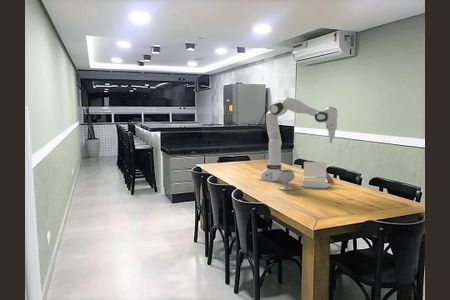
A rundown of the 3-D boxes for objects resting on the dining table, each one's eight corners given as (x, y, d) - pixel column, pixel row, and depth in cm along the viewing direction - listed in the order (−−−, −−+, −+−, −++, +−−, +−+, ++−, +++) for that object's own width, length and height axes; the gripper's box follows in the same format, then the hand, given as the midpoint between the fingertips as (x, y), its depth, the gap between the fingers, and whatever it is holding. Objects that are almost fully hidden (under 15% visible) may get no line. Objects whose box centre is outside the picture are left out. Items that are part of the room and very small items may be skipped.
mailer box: (302, 187, 276) (302, 180, 275) (302, 183, 289) (302, 177, 289) (327, 188, 271) (327, 181, 271) (326, 185, 285) (326, 178, 284)
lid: (304, 161, 292) (304, 162, 293) (303, 176, 288) (303, 176, 289) (326, 162, 288) (326, 162, 289) (326, 177, 284) (326, 177, 284)
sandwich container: (334, 181, 302) (335, 165, 301) (321, 182, 296) (321, 166, 295) (328, 179, 310) (328, 163, 309) (315, 180, 304) (315, 164, 302)
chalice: (297, 189, 267) (298, 171, 265) (284, 191, 260) (284, 173, 258) (286, 186, 279) (287, 169, 277) (273, 188, 272) (273, 170, 271)
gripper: (326, 126, 285) (326, 141, 287) (328, 126, 266) (327, 143, 267) (334, 126, 284) (333, 142, 285) (336, 127, 264) (335, 144, 266)
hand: (330, 143), depth 276 cm, fingers closed
